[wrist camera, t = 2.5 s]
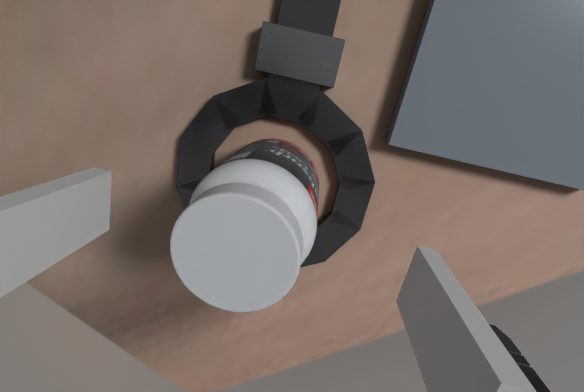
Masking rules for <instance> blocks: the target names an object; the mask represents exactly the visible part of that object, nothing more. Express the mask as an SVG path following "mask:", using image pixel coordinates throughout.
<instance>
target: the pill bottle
mask: <svg viewBox="0 0 584 392" xmlns="http://www.w3.org/2000/svg"><path fill="white" fill-rule="evenodd" d="M318 193H319V180H318V174H317V171H316V168H315V166H314V164H313V162H312V160H311V159H310V158H309V156H308V155H307V154H306V153H305V152H304V151H303V150H302V149H300V148H299V147H298V146H296V145H294V144H292V143H290V142H288V141H285V140H280V139H263V140H259V141H256V142H253V143H251V144H249V145H247V146H246V147H244V148H243V149H242V150H240V151H239V152H237V153H236V154H235V155H233V156H232V157H231V158H229V159H228V160H226V161H225V162H223V163H222V164H220V165H219V166H218V167H216V168H215V169H214V170H212V171H211V172H210V173H209V174H207V175H206V176H205V177H204V178H203V179H202V181H201V182H200V183H199V184H198V186H197V187H196V189H195V191H194V193H193V195H192V197H191V200H190V203H189V206H188V207H187V208H186V209H185V210H184V211H183V212H182V213H181V214H180V216H179V217H178V219H177V221H176V223H175V225H174V227H173V230H172V233H171V239H170V252H171V258H172V263H173V265H174V268H175V270H176V272H177V274H178V276H179V278H180V279H181V281H182V282H183V284H184V285H185V286H186V287H187V288H188V289H189V290H190V291H191V292H192V293H193V294H194V295H195V296H197V297H198V298H200V299H201V300H203V301H204V302H206V303H208V304H210V305H212V306H215V307H217V308H220V309H223V310H228V311H233V312H250V311H256V310H260V309H264V308H266V307H268V306H271V305H273V304H274V303H276V302H278V301H279V300H280V299H281V298H283V297H284V296H285V295H286V294H287V293H288V292H289V290H290V289H291V288H292V286H293V285H294V283H295V281H296V279H297V276H298V273H299V270H300V265H301V264H302V263H303V262H304V260H305V259H306V258H307V256H308V255H309V253H310V251H311V249H312V246H313V244H314V240H315V237H316V232H317V217H318Z"/></svg>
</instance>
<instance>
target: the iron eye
mask: <svg viewBox="0 0 584 392" xmlns="http://www.w3.org/2000/svg"><path fill="white" fill-rule="evenodd" d="M340 2H341V0H282V1H281V6H280V12H279V17H278V23H277V24H274V23H269V22H265V21H263V24H262V29H261V35H260V41H259V47H258V53H257V59H256V65H255V70H259V71H263V72H267V73H268V78H264V79H261V80H258V81H255V82H252V83H249V84H246V85H243V86H241V87H238V88H235V89H232V90H229V91H226V92H223V93H220V94H218V95H215V96H213V97H212V98H211V100H210V101H209V102H208V103H207V105H206V106H205V107H204V109H203V110H202V111H201V112H200V114H199V115H198V116H197V118H196V119H195V120H194V121H193V123H192V124H191V125H190V127H189V128H188V129H187V130H186V132H185V133H184V134H183V136H182V137H181V146H180V155H179V165H178V174H177V184H176V187H177V189H178V192H179V194H180V196H181V199H182V201H183V203H184V205H185V208H187V207H188V206H189V203H190V200H191V197H192V195H193V193H194V191H195V189H196V187H197V186H198V184H199V183H200V182H201V181H202V179H203V178H204V177H205V176H206V175H207V174H209V173H210V172H211V171H212V170H213V164H214V157H215V151H216V150H217V149H218V148H219V146H220V145H221V144H222V143H223V142H224V140H225V139H226V138H227V137H228V136H229V134H230V133H231V132H232V131H233V130H234V128H235V127H236V126H238V125H241V124H244V123H248V122H251V121H254V120H257V119H260V118H263V117H266V116H271V117H275V118H280V119H284V120H288V121H293V122H297V123H301V124H304V125H305V126H307V127H308V128H309V129H310V130H311V131H312V132H313V133H314V134H315V135H316V136H317V137H318V138H319V139H320V140H321V141H322V142H323V143H324V144H325V145H327V146H328V147H329V148H330V149H331V152H332V156H333V159H334V163H335V166H336V170H337V174H338V177H339V185H338V188H337V192H336V195H335V199H334V203H333V206H332V210H331V212H330V213H329V214H328V215H327V216H326V217H325V218H324V219H323V220H322V221H321V222H319V223H318V224H317V232H316V237H315V240H314V244H313V246H312V249H311V251H310V253H309V255H308V256H307V258H306V259H305V260H304V262H303V263H302V264H301V265H300V267H304V266H308V265H312V264H317V263H321V262H325V261H326V260H327V259H328V258H329V257H330V256H331V255H332V254H333V253H335V252H336V251H337V250H338V249H339V248H340V247H341V246H342V245H344V244H345V243H346V242H347V241H348V240H349V239H350V238H351V237H353V236H354V235H355V234H356V233H357V232H358V231H359V230H360V228H361V225H362V222H363V219H364V215H365V212H366V209H367V206H368V203H369V200H370V197H371V193H372V190H373V187H374V184H375V180H374V176H373V172H372V168H371V164H370V160H369V156H368V152H367V148H366V144H365V140H364V136H363V132H362V130H361V129H360V128H359V127H358V126H357V125H356V124H355V123H354V122H353V121H352V120H351V119H350V118H349V117H348V116H347V115H346V114H345V113H344V112H343V111H342V110H341V109H340V108H339V107H338V106H337V105H336V104H335V103H333V102H332V101H331V100H330V99H329V98H328V97H327V96H326V95H325V94H324V93H323V92H322V91H320V87H321V85H323V86H328V87H332V88H334V84H335V80H336V76H337V71H338V67H339V63H340V59H341V55H342V51H343V47H344V43H345V40H343V39H339V38H335V37H332V36H333V32H334V27H335V23H336V19H337V14H338V10H339V6H340Z"/></svg>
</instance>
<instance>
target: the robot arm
mask: <svg viewBox="0 0 584 392" xmlns="http://www.w3.org/2000/svg"><path fill="white" fill-rule="evenodd" d="M111 176H112V171H108V170H103V169H99V168H95V167H94V168H90V169H87V170H84V171H81V172H78V173H75V174H71V175H68V176H65V177H62V178H59V179H55V180H52V181H49V182H46V183H43V184H39V185H36V186H33V187H30V188H27V189H24V190H20V191H17V192H14V193H11V194H8V195H4V196H1V197H0V298H1V297H3V296H4V295H6V294H7V293H9V292H11V291H12V290H14V289H15V288H17V287H19V286H20V285H22V284H23V283H25V282H27V281H28V280H30V279H31V278H33V277H35V276H36V275H38V274H39V273H41V272H43V271H44V270H46V269H47V268H49V267H51V266H52V265H54V264H55V263H57V262H59V261H60V260H62V259H63V258H65V257H67V256H68V255H70V254H71V253H73V252H75V251H76V250H78V249H79V248H81V247H83V246H84V245H86V244H87V243H89V242H91V241H92V240H94V239H95V238H97V237H99V236H100V235H102V234H103V233H105V232H107V231H108V230H109V224H110V200H111ZM397 304H398V307H399V310H400V313H401V316H402V319H403V322H404V325H405V328H406V330H407V333H408V336H409V339H410V342H411V345H412V348H413V351H414V354H415V357H416V359H417V362H418V365H419V368H420V371H421V374H422V377H423V380H424V383H425V385H426V389H427V391H428V392H550V391H549V389H548V388H547V387H546V385H545V384H544V383H543V382H542V380H541V379H540V378H539V376H538V375H537V374H536V372H535V371H534V370H533V368H531V367H530V364H529V363H528V362H527V360H526V359H525V358H524V356H521V352H520V351H519V350H518V349H517V347H516V346H515V345H514V343H513V342H512V341H511V339H510V338H508V337H507V336H506V335H505V334H504V333H503V332H502V331H500V330H499V329H498V328H497V327H496V326H494V325H490V324H488V323H487V321H486V320H485V319H484V317H483V316H482V314H481V313H480V312H479V310H478V309H477V307H476V306H475V304H474V303H473V302H472V300H471V299H470V297H469V296H468V295H467V293H466V292H465V290H464V289H463V288H462V286H461V285H460V283H459V282H458V281H457V279H456V278H455V276H454V275H453V274H452V272H451V271H450V269H449V268H448V266H447V265H446V264H445V262H444V261H443V259H442V258H441V257H440V255H439V254H438V252H437V251H436V250H433V249H429V248H425V247H421V246H417V249H416V251H415V254H414V256H413V259H412V262H411V264H410V267H409V269H408V272H407V275H406V277H405V280H404V282H403V285H402V288H401V290H400V293H399V296H398V298H397Z"/></svg>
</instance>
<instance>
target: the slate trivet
mask: <svg viewBox="0 0 584 392" xmlns="http://www.w3.org/2000/svg"><path fill="white" fill-rule="evenodd" d="M385 142H386V143H387V144H388V145H392V146H396V147H401V148H405V149H409V150H414V151H418V152H422V153H426V154H431V155H435V156H439V157H444V158H448V159H452V160H456V161H461V162H465V163H469V164H474V165H478V166H482V167H486V168H491V169H495V170H499V171H504V172H508V173H512V174H517V175H521V176H525V177H529V178H534V179H538V180H542V181H547V182H551V183H555V184H559V185H564V186H568V187H572V188H577V189H581V190H584V0H430V2H429V5H428V8H427V11H426V14H425V18H424V21H423V24H422V27H421V30H420V33H419V37H418V40H417V43H416V46H415V49H414V53H413V56H412V59H411V62H410V65H409V68H408V72H407V75H406V78H405V81H404V84H403V87H402V91H401V94H400V97H399V100H398V103H397V107H396V110H395V113H394V116H393V119H392V122H391V126H390V129H389V132H388V135H387V138H386V141H385Z"/></svg>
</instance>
